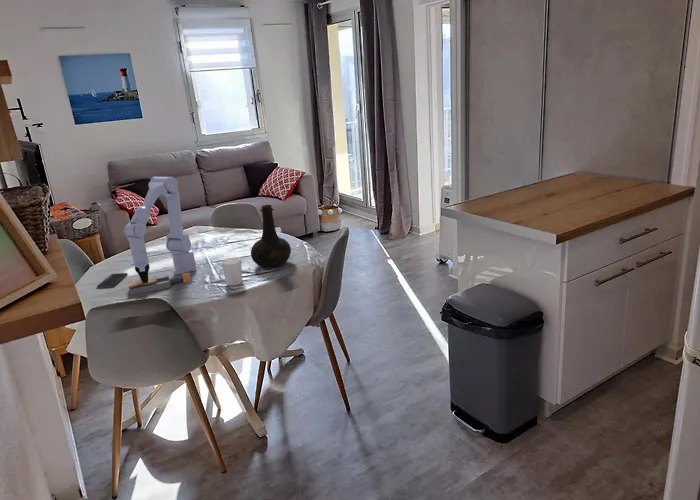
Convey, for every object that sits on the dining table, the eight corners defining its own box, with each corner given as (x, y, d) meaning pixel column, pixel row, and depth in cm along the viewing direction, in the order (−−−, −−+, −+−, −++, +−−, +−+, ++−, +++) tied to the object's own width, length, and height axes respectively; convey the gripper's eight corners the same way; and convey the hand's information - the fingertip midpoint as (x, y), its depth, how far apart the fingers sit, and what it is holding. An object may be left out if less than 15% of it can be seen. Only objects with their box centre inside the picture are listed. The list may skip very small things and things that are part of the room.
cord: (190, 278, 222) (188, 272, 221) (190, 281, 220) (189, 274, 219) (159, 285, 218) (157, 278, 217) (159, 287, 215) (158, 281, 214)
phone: (95, 287, 219) (111, 273, 233) (96, 289, 219) (112, 276, 233) (113, 286, 218) (128, 272, 232) (114, 288, 219) (129, 275, 233)
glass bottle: (245, 269, 229) (236, 209, 219) (267, 256, 244) (260, 199, 234) (278, 274, 221) (270, 212, 212) (299, 259, 236) (293, 201, 227)
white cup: (221, 283, 215) (217, 261, 212) (237, 277, 220) (233, 256, 217) (231, 288, 209) (227, 265, 206) (247, 282, 215) (244, 260, 211)
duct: (169, 280, 222) (168, 275, 221) (170, 287, 215) (169, 281, 214) (130, 288, 216) (129, 283, 215) (130, 295, 209) (129, 289, 208)
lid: (156, 277, 219) (155, 275, 219) (157, 282, 212) (156, 280, 212) (128, 282, 215) (128, 281, 215) (129, 288, 208) (128, 286, 208)
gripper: (128, 248, 212) (134, 278, 217) (128, 258, 199) (135, 290, 204) (146, 245, 215) (152, 275, 219) (147, 255, 202) (154, 286, 206)
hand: (145, 282), depth 212 cm, fingers closed, pressing on lid
